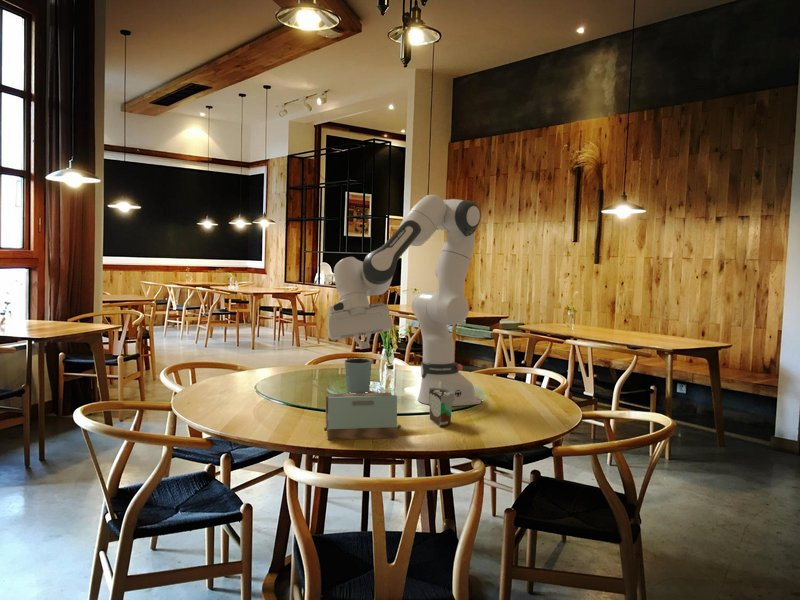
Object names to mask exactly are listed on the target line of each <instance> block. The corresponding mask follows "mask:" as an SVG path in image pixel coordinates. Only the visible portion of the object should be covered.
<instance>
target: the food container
mask: <svg viewBox="0 0 800 600" xmlns="http://www.w3.org/2000/svg"><path fill="white" fill-rule="evenodd" d="M454 400H455V397H454V394H453V392H452V391H451V390H448V389H442V388H429V403H430V404H429V420H430V421H431V422H432V423H433V424H435V425H436V426H437V427H439V428H445V427H449V426H451V422H452V419H451V418H452V409H453V406H452V402H453V401H454Z"/></svg>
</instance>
